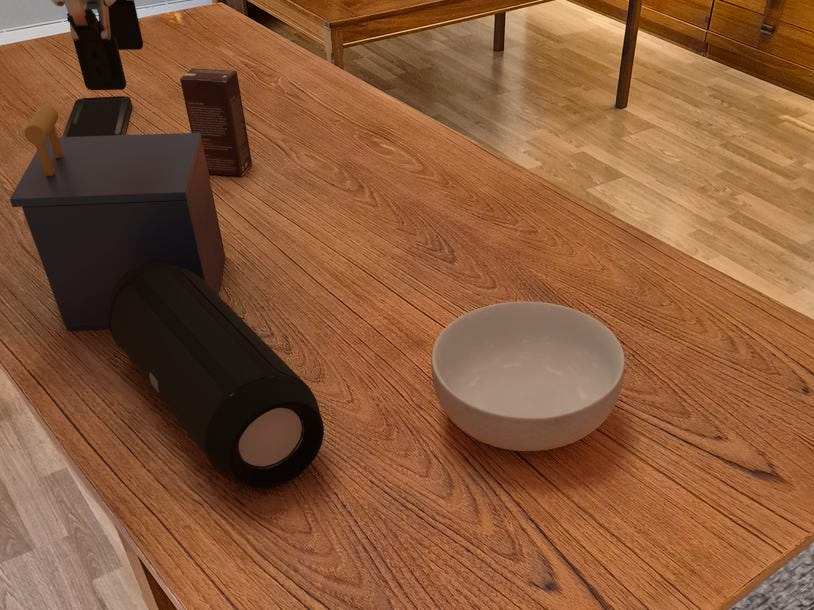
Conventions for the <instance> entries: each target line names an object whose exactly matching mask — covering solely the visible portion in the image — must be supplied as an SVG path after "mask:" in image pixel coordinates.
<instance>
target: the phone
mask: <svg viewBox="0 0 814 610" xmlns="http://www.w3.org/2000/svg"><path fill="white" fill-rule="evenodd" d="M132 109H133V103H132V99H131V97H130V96H127V95H121V96H120V95H119V96H118V95H116V96H115V95H114V96H98V97H97V96H95V97H81V98H77V99H76V100H75V101H74V104H73V106H72V109H71V112H70V114H69V117H68V119H67V121H66V122H67V123H66V125H65V128H64V130H63V132H62V136H61V137H82V136H113V135H126V133H127V130H128V129H127V128H128V125H129V121H130V118H131V114H132Z"/></svg>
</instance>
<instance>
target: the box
mask: <svg viewBox="0 0 814 610" xmlns="http://www.w3.org/2000/svg"><path fill="white" fill-rule="evenodd" d="M238 75H239V74H238V71H237V70H227V69H211V68H210V69H209V68H197V67H196V68H191V69H189V70H188V71H187V72H186V73H184V74H183V75H182V76H181V77H179V82H180V86H181V89H182V90H181V91H182V95H183V100H184V105H185V111H186V115H187V118H188V123H189V128H190V133H201V137H202V142H203V147H204V152H205V157H206V162H207V167H208V172H209V174H214V175H226V176H238V177H243V176H244V175H245V174H246V173H247V172H248V170H249V169H250V167H251V166H252V164H253V160H252V154H251V148H250V141H249V136H248V135H249V134H248V129H247V123H246V118H245V112H244V106H243V101H242V100H243V99H242V93H241V87H240V82H239V77H238Z"/></svg>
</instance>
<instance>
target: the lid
mask: <svg viewBox="0 0 814 610" xmlns="http://www.w3.org/2000/svg"><path fill="white" fill-rule="evenodd" d="M58 119H59V114H58V112H57V110H56V109H55V108H54V107H53V106H51V105H49V104H42V105H39V107H37V109H36V111H35V113H34V114H33V116H32V118H31V119H30V120H29V122H28V124H27V125H26V127H25V129H24V137H25V138H26V140H27V141H28V142H29V143H30V144H32V145H34V146H35V148H36V152H35V154H34V155H33V157H32V159H31V160H30V162H29V164H28V166H27V168H26V169H25V171H24V173H23V174H22V176H21V178H20V180H19V182H18V183H17V185H16V187H15V189H14V190H13V192H12V194H11V195H10V198H9V202H10V204H11V207H12V208H22V207H29V206H53V205H78V204H103V203H128V202H153V201H177V200H187V197H188V193H189V189H190V185H191V182H192V178H193V174H194V170H195V166H196V162H197V158H198V154H199V150H200V146H201V142H202V137H201V133H191V132H178V133H175V132H174V133H148V134H147V133H146V134H125V135H113V136H82V137H62V136H59V135H58V132H57V129H56V126H55V125H56V123H57V122H58Z"/></svg>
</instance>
